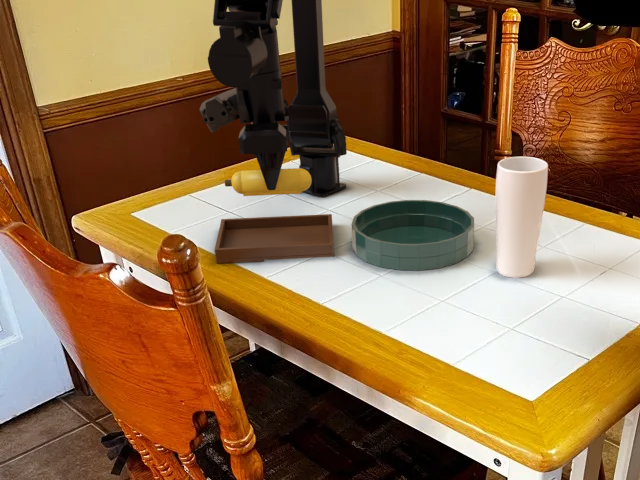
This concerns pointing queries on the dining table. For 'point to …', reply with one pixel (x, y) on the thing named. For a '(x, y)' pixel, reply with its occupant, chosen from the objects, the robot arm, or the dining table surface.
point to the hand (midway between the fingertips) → (271, 185)
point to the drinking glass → (519, 213)
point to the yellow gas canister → (255, 183)
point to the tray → (274, 238)
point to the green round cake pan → (413, 234)
